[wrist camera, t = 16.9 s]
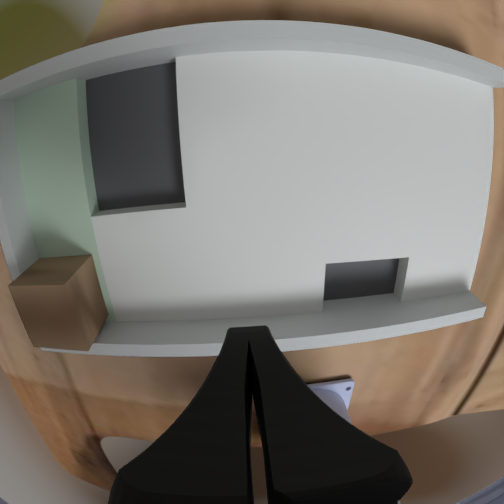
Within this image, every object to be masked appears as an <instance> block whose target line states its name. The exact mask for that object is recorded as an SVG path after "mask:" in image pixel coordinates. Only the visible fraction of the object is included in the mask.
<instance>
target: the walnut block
mask: <svg viewBox="0 0 504 504" xmlns="http://www.w3.org/2000/svg"><path fill="white" fill-rule="evenodd" d="M9 289H10V292H11V295H12V297H13V300H14V302H15V305H16V307H17V310H18V312H19V315H20V317H21V320H22V322H23V324H24V327H25V329H26V331H27V333H28V335H29V338H30V340H31V342H32V344H33V346H34V347H41V348H51V349H63V350H76V351H89V350H90V348H91V346H92V344H93V342H94V340H95V338H96V337H97V335H98V333H99V331H100V329H101V327H102V326H103V324H104V322H105V320H106V318H107V317H108V315H109V314H108V311H107V308H106V304H105V301H104V297H103V294H102V291H101V287H100V283H99V280H98V276H97V272H96V268H95V264H94V260H93V256H92V255H78V256H64V257H50V258H39V259H38V260H37V261H36V262H34V263H33V264H32V265H31V266H30V267H29V268H28V269H26V270H25V271H24V272H23V273H22V274H21V275H20V276H19V277H17V278H16V279H15V280H14V281H13V282H12V283H11V284H10V285H9Z"/></svg>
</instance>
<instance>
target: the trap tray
mask: <svg viewBox="0 0 504 504" xmlns="http://www.w3.org/2000/svg"><path fill="white" fill-rule="evenodd" d="M493 88H504V69H503V68H501V67H498V66H496V65H494V64H491V63H489V62H486V61H484V60H481V59H479V58H476V57H473V56H471V55H468V54H465V53H462V52H459V51H456V50H453V49H450V48H447V47H444V46H441V45H437V44H434V43H430V42H427V41H423V40H419V39H415V38H411V37H407V36H403V35H399V34H394V33H389V32H384V31H379V30H373V29H368V28H361V27H355V26H348V25H340V24H331V23H320V22H307V21H288V20H243V21H223V22H210V23H200V24H191V25H183V26H176V27H169V28H163V29H157V30H151V31H146V32H141V33H136V34H131V35H127V36H123V37H118V38H114V39H110V40H106V41H103V42H99V43H96V44H92V45H89V46H85V47H82V48H79V49H76V50H73V51H70V52H67V53H64V54H61V55H58V56H55V57H53V58H50V59H48V60H45V61H42V62H40V63H37V64H35V65H32V66H30V67H28V68H26V69H23V70H21V71H19V72H16V73H14V74H12V75H10V76H8V77H5V78H3V79H1V80H0V242H1V245H2V249H3V252H4V256H5V259H6V262H7V265H8V269H9V272H10V275H11V278H12V281H14V280H15V279H16V278H17V277H19V276H20V275H21V274H22V273H23V272H24V271H25V270H26V269H28V268H29V267H30V266H31V265H32V264H33V263H34V262H36V261H37V260H38V259H39V258H50V257H64V256H78V255H92V256H93V260H94V264H95V268H96V272H97V276H98V280H99V283H100V287H101V291H102V294H103V297H104V301H105V304H106V308H107V311H108V314H109V315H108V317H107V318H106V320H105V322H104V324H103V326H102V327H101V329H100V331H99V333H98V335H97V337H96V338H95V340H94V342H93V344H92V346H91V348H90V350H89V351H76V350H63V349H51V348H41V347H40V349H41V350H43V351H52V352H63V353H76V354H90V355H108V356H138V357H194V356H218V355H219V353H220V350H221V348H222V345H223V343H224V340H225V337H226V333H227V330H228V329H229V328H231V327H248V326H263V325H266V326H267V327H268V328H269V330H270V332H271V334H272V336H273V338H274V340H275V342H276V344H277V345H278V347H279V349H280V350H281V352H283V351H294V350H304V349H313V348H322V347H330V346H338V345H345V344H352V343H359V342H366V341H372V340H378V339H384V338H390V337H396V336H401V335H406V334H412V333H417V332H422V331H427V330H431V329H436V328H441V327H445V326H450V325H454V324H458V323H462V322H466V321H470V320H474V319H478V318H482V317H483V315H484V313H485V310H486V307H487V306H486V305H485V304H484V303H482V302H481V301H480V300H479V299H478V298H477V297H476V296H475V295H474V294H473V293H471V292H470V287H471V284H472V280H473V276H474V272H475V268H476V264H477V260H478V255H479V251H480V246H481V241H482V236H483V230H484V225H485V219H486V213H487V206H488V198H489V190H490V181H491V171H492V157H493V133H494V107H493Z"/></svg>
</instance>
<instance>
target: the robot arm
mask: <svg viewBox="0 0 504 504" xmlns="http://www.w3.org/2000/svg"><path fill="white" fill-rule="evenodd" d="M353 387H354V380H353V379H343V380H337V381H330V382H323V383H315V384H306V383H305V382H304V381H303V380H302V379H301V378H300V376H299V375H298V374H297V373H296V371H295V370H294V369H293V368H292V366H291V365H290V363H289V362H288V361H287V359H286V358H285V356H284V355H283V353H282V352H281V350H280V349H279V347H278V345H277V344H276V342H275V340H274V338H273V336H272V334H271V332H270V330H269V328H268V327H267V326H266V325H263V326H248V327H231V328H229V329H228V330H227V333H226V337H225V340H224V343H223V345H222V348H221V350H220V353H219V355H218V357H217V359H216V361H215V363H214V365H213V367H212V369H211V371H210V373H209V374H208V376H207V378H206V379H205V381H204V383H203V384H202V386H201V388H200V389H199V391H198V392H197V394H196V395H195V397H194V398H193V399H192V401H191V402H190V404H189V405H188V406H187V407H186V409H185V410H184V411H183V412H182V414H181V415H180V416H179V417H178V418H177V419H176V421H175V422H174V423H173V424H172V425H171V426H170V427H169V428H168V429H167V430H166V431H165V432H164V433H163V434H162V435H161V436H160V437H159V438H158V439H157V440H156V441H155V442H154V443H153V444H152V445H150V446H149V447H148V448H147V449H146V450H145V451H144V452H142V453H141V454H140V455H138V456H137V457H136V458H134V459H133V460H132V461H130V462H129V463H128V464H126V465H125V466H123V467H122V468H121V469H119V471H118V473H117V476H116V478H115V481H114V483H113V486H112V488H111V492H110V497H109V501H108V504H254V496H253V484H252V469H251V455H250V454H251V450H250V449H251V446H250V444H251V418H252V394H253V399H254V405H255V410H256V415H257V421H258V426H259V431H260V436H261V441H262V447H263V453H264V465H265V476H266V487H267V499H268V504H400V501H399V500H400V499H401V498H402V497H403V495H404V494H405V493H406V492H407V491H408V490H409V488H410V487H411V485H412V483H413V482H412V477H411V475H410V472H409V470H408V468H407V466H406V464H405V463H404V461H403V459H402V458H401V456H400V455H399V453H398V451H397V450H395V449H393V448H390V447H389V446H387V445H385V444H383V443H381V442H379V441H377V440H375V439H374V438H371V437H370V436H369V435H367V434H365V433H364V432H362V431H361V430H359V429H358V428H356V427H355V426H353V425H352V422H351V419H350V416H349V414H348V411H347V410H348V407H349V403H350V399H351V395H352V391H353ZM0 504H8V503H7V502H5V501H4V500H3V499H1V498H0ZM456 504H504V477H502V478H500V479H499V480H497V481H496V482H494V483H492V484H491V485H489V486H487V487H486V488H484V489H482V490H480V491H479V492H477V493H475V494H473V495H471V496H469V497H468V498H466V499H464V500H462V501H460V502H458V503H456Z"/></svg>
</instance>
